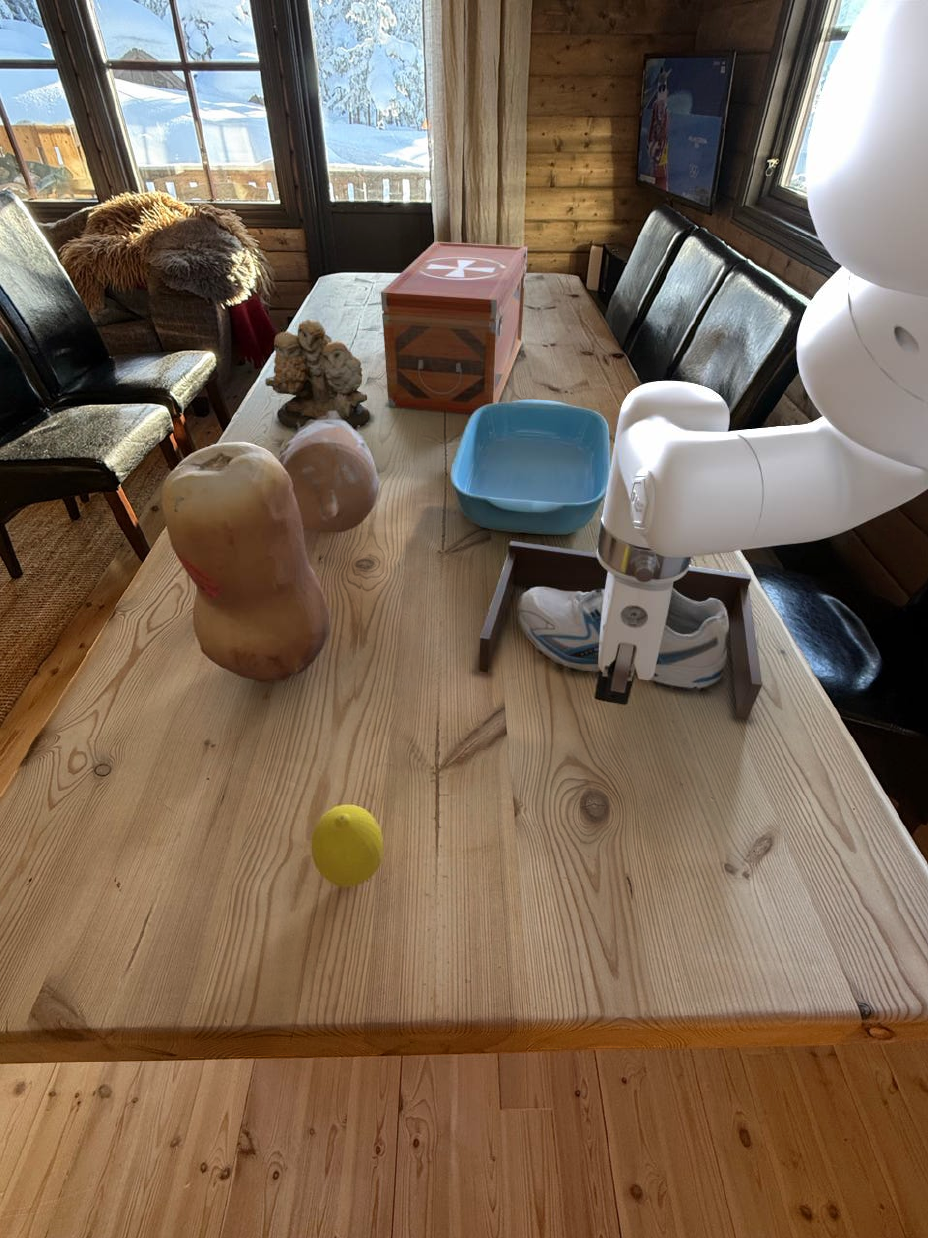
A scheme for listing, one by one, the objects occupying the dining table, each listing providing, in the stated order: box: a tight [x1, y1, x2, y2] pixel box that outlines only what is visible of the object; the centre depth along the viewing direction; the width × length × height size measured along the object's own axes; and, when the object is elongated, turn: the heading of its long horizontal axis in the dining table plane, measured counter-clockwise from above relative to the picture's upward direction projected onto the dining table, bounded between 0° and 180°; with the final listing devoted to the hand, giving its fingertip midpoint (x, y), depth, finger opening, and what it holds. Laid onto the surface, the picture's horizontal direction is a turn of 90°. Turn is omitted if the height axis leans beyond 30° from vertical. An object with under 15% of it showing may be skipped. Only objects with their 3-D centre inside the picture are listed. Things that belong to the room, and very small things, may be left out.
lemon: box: [311, 804, 385, 888], centre depth 52 cm, size 6×6×8 cm
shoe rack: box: [478, 540, 763, 720], centre depth 74 cm, size 17×28×6 cm, turn 76°
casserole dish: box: [450, 399, 611, 536], centre depth 100 cm, size 37×22×7 cm, turn 171°
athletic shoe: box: [517, 587, 730, 691], centre depth 71 cm, size 10×23×12 cm, turn 78°
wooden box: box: [380, 241, 528, 415], centre depth 132 cm, size 20×41×20 cm, turn 169°
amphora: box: [277, 411, 380, 534], centre depth 93 cm, size 14×16×30 cm
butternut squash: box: [161, 441, 331, 683], centre depth 64 cm, size 14×13×25 cm
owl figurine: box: [264, 318, 371, 431], centre depth 115 cm, size 18×12×17 cm, turn 87°
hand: (611, 696), depth 65 cm, fingers closed
